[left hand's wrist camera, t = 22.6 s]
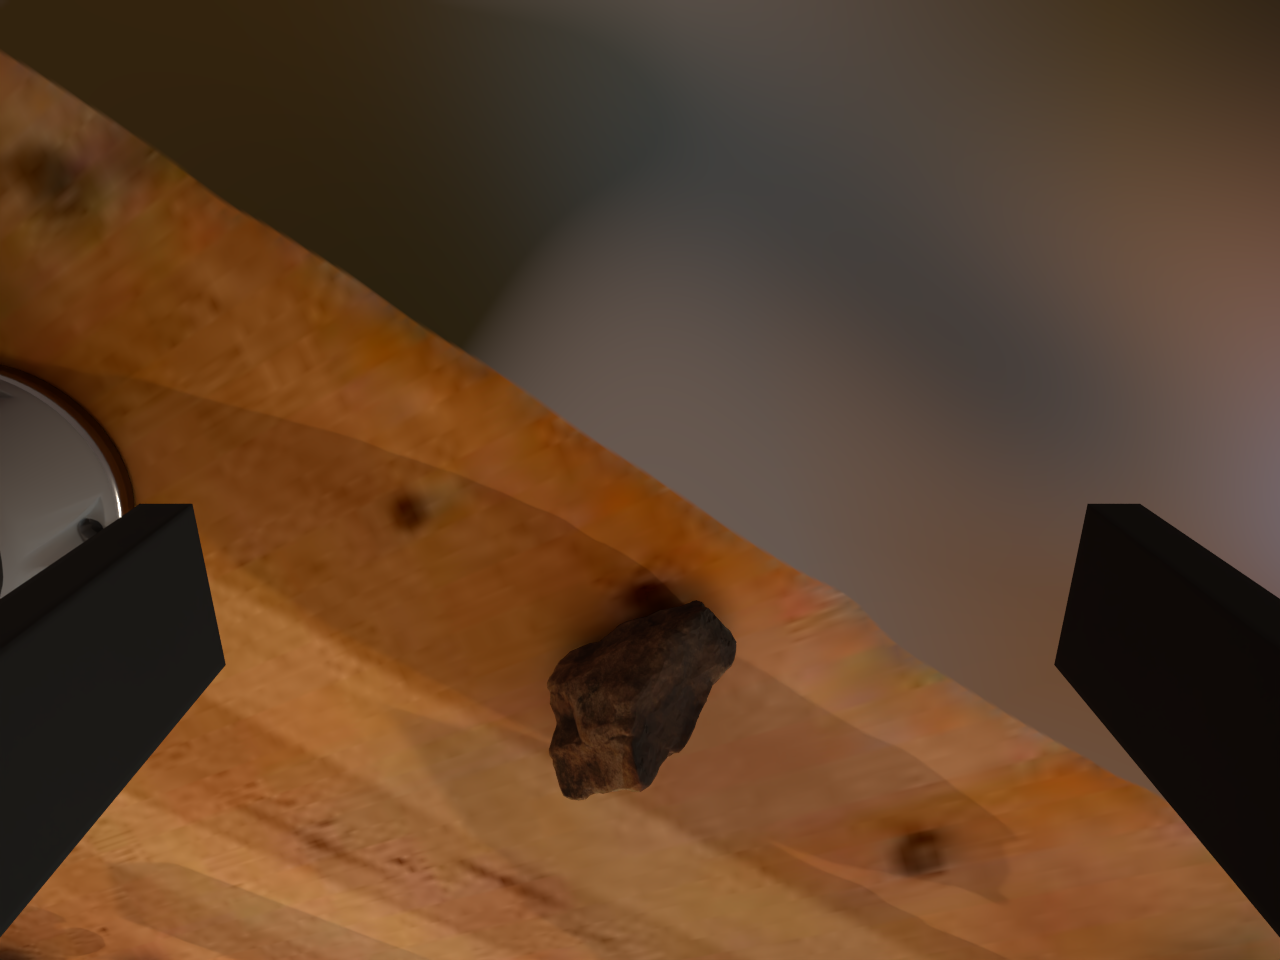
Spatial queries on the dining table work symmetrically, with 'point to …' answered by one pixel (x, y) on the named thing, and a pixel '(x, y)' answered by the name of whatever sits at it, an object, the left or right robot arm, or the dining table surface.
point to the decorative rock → (634, 698)
